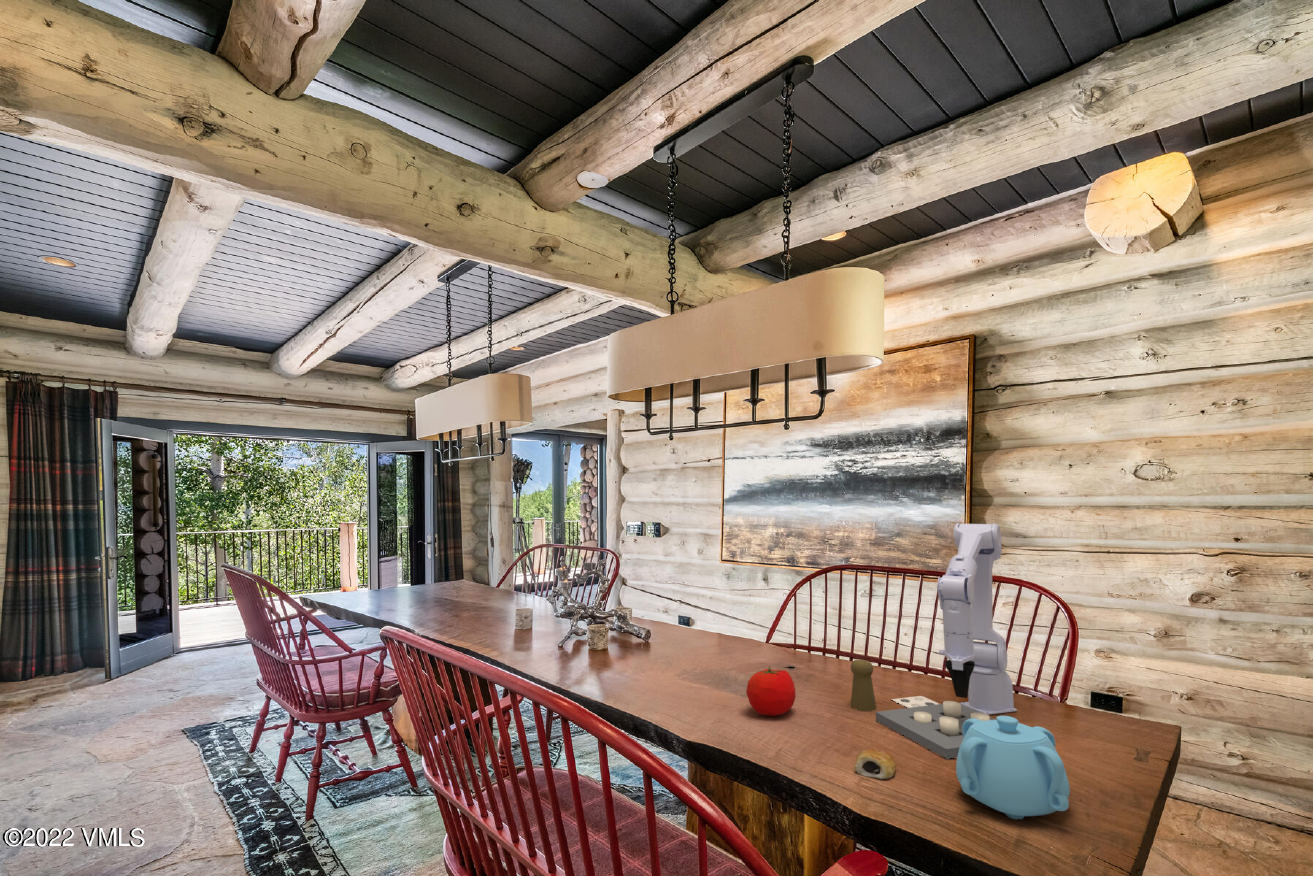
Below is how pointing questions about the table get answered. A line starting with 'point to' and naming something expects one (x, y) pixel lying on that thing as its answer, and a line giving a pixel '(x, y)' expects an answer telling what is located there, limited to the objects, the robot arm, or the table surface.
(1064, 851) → the table surface
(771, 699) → the tomato
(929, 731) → the board
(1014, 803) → the decorative pot
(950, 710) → the button
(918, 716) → the button
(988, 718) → the button
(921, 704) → the card
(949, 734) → the button
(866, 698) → the olive pawn figure
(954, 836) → the table surface
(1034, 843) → the table surface
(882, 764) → the pastry
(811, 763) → the table surface
